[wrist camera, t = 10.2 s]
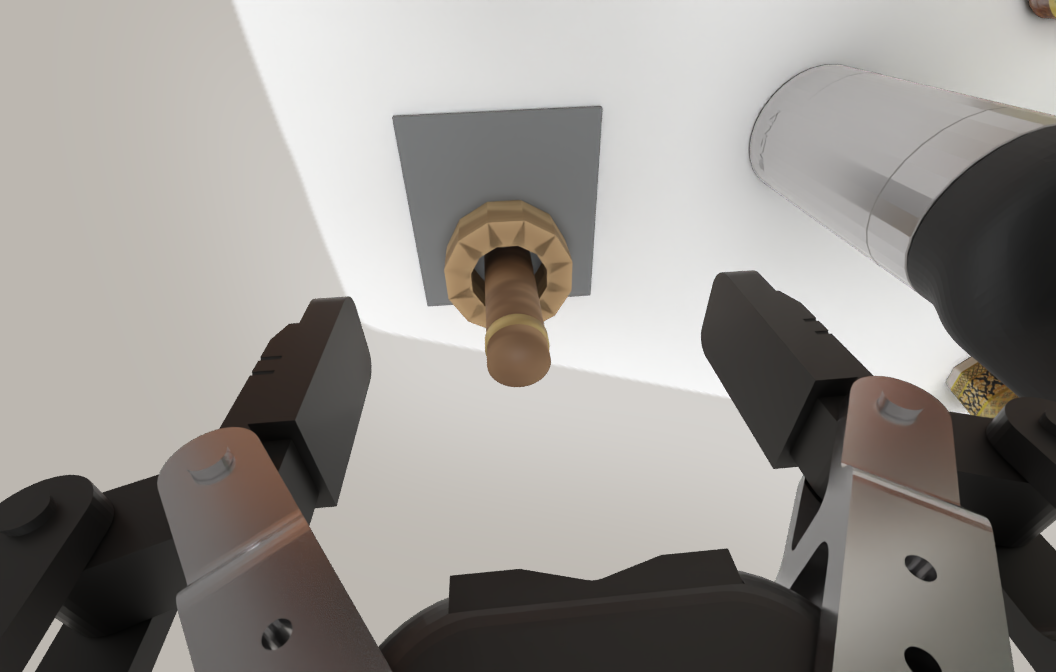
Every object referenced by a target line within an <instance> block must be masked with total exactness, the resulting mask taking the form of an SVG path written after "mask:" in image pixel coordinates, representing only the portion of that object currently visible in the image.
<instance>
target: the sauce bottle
mask: <svg viewBox="0 0 1056 672" xmlns="http://www.w3.org/2000/svg"><path fill="white" fill-rule="evenodd" d="M1029 6H1030V7H1031V8H1032V10H1033V12H1034V13H1035V14H1036V15H1037V16H1039V17H1041V18H1052V19H1056V0H1029Z"/></svg>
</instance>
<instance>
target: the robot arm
mask: <svg viewBox="0 0 1056 672" xmlns="http://www.w3.org/2000/svg"><path fill="white" fill-rule="evenodd" d="M750 160H751V164H752V167H753V170H754V172H755V173H756V175H757V176H758V178H759V179H760V180H761V181H763V182H764V183H765V184H766V185H767V186H769V187H770V188H772V189H773V190H774V191H776V192H777V193H779V194H780V195H781V196H783V197H784V198H786V199H787V200H788V201H789V202H791V203H792V204H794V205H795V206H796V207H798V208H799V209H801V210H802V211H803V212H805V213H806V214H808V215H809V216H810V217H812V218H813V219H815V220H816V221H817V222H819V223H820V224H822V225H823V226H824V227H826V228H827V229H829V230H830V231H831V232H833V233H834V234H836V235H837V236H838V237H840V238H841V239H843V240H844V241H845V242H847V243H848V244H850V245H851V246H852V247H854V248H855V249H857V250H858V251H859V252H861V253H862V254H864V255H865V256H866V257H868V258H869V259H871V260H872V261H873V262H875V263H876V264H878V265H879V266H881V267H882V268H884V269H885V270H886V271H888V272H889V273H891V274H892V275H893V276H895V277H896V278H898V279H899V280H900V281H902V282H903V283H905V284H906V285H907V286H909V287H910V288H912V289H913V290H914V291H916V292H917V293H919V294H920V295H921V296H922V297H924V298H925V299H927V300H928V301H929V302H931V303H932V304H933V305H934V307H935V309H936V311H937V313H938V315H939V318H940V320H941V322H942V324H943V326H944V328H945V329H946V331H947V332H948V334H949V335H950V336H951V337H952V339H953V340H954V341H955V342H956V343H957V344H958V345H959V346H960V347H961V348H962V349H964V350H965V351H966V352H967V353H968V354H969V355H970V356H972V357H973V358H974V359H975V360H976V361H978V362H979V363H980V364H981V365H982V366H983V367H985V368H986V369H987V370H988V371H989V372H990V373H992V374H993V375H994V376H995V377H996V378H997V379H999V380H1000V381H1001V382H1002V383H1003V384H1004V385H1006V386H1007V387H1008V388H1009V389H1010V390H1011V391H1012V392H1014V393H1015V394H1016V395H1017V396H1018V397H1019V398H1015V399H1012V400H1010V401H1008V402H1007V404H1006V405H1005V406H1004V407H1003V408H1002V409H1001V411H1000V412H999V413H998V414H997V415H996V416H995V418H988V417H981V416H975V415H968V414H961V413H955V412H948V410H947V409H946V408H945V406H944V405H943V404H942V403H941V402H940V401H939V400H938V399H936V398H935V397H934V396H932V395H931V394H930V393H928V392H926V391H925V390H923V389H921V388H919V387H917V386H915V385H913V384H911V383H908V382H905V381H902V380H899V379H895V378H891V377H885V376H873V375H872V374H871V373H870V372H869V371H868V370H867V369H866V368H865V367H864V366H863V365H862V364H861V363H860V362H859V361H858V360H857V359H856V358H855V357H854V356H853V355H852V354H851V353H850V352H849V351H848V350H847V349H846V348H845V347H844V346H843V345H842V344H841V343H840V342H839V341H838V340H837V339H836V338H835V337H834V336H833V335H832V334H828V330H827V329H826V328H825V327H824V326H823V325H822V324H821V323H820V322H819V321H816V318H815V316H814V315H813V314H812V313H811V312H810V311H809V310H808V309H807V308H806V307H805V306H804V305H803V304H802V303H800V302H798V301H797V300H795V299H793V298H791V297H789V296H788V295H786V294H784V293H782V292H780V291H775V289H774V288H773V287H772V286H771V285H770V284H769V283H768V282H767V281H766V280H765V279H764V278H763V277H762V276H761V275H760V274H759V273H758V272H757V271H753V270H752V271H737V272H722V273H719V274H718V275H717V276H716V277H715V279H714V282H713V286H712V290H711V294H710V298H709V302H708V306H707V310H706V314H705V318H704V322H703V326H702V330H701V343H702V348H703V351H704V354H705V356H706V358H707V359H708V361H709V363H710V364H711V366H712V368H713V369H714V371H715V373H716V374H717V376H718V378H719V379H720V381H721V383H722V384H723V386H724V388H725V389H726V391H727V393H728V394H729V396H730V398H731V399H732V401H733V402H734V404H735V406H736V408H737V409H738V410H739V412H740V414H741V416H742V417H743V419H744V421H745V422H746V424H747V426H748V427H749V429H750V430H751V432H752V434H753V436H754V437H755V439H756V441H757V442H758V444H759V446H760V447H761V449H762V451H763V452H764V454H765V456H766V457H767V459H768V460H769V462H770V464H771V466H772V467H773V469H778V468H789V467H799V469H800V470H801V472H802V473H803V476H802V478H801V480H800V482H799V485H798V488H797V492H796V498H795V502H794V507H793V512H792V516H791V521H790V526H789V531H788V536H787V540H786V545H785V551H784V555H783V559H782V563H781V566H780V570H779V572H778V575H777V577H776V580H775V582H773V581H771V580H768V579H765V578H763V577H760V576H756V575H753V574H749V573H746V572H742V571H738V570H737V568H736V566H735V564H734V561H733V559H732V557H731V555H730V552H729V550H728V549H718V550H708V551H698V552H688V553H678V554H667V555H661V556H658V557H655V558H653V559H650V560H648V561H645V562H643V563H640V564H638V565H635V566H633V567H630V568H628V569H625V570H622V571H620V572H618V573H615V574H613V575H610V576H608V577H605V578H603V579H599V580H593V581H591V580H583V579H577V578H571V577H565V576H559V575H553V574H547V573H540V572H535V571H529V570H523V569H514V570H504V571H494V572H484V573H474V574H464V575H453V576H450V587H449V598H447V599H444V600H441V601H439V602H437V603H435V604H433V605H431V606H429V607H427V608H425V609H424V610H422V611H420V612H419V613H417V614H416V615H414V616H413V617H411V618H410V619H409V620H407V621H406V622H404V623H403V624H402V625H401V626H400V627H398V628H397V629H396V630H395V631H394V632H393V633H392V634H390V635H389V636H388V637H387V639H385V641H384V642H383V643H382V644H381V645H380V646H379V647H378V646H377V644H376V642H375V640H374V639H373V637H372V635H371V633H370V632H369V630H368V628H367V626H366V625H365V623H364V621H363V619H362V618H361V616H360V614H359V612H358V611H357V609H356V607H355V605H354V604H353V602H352V600H351V599H350V597H349V595H348V593H347V592H346V590H345V588H344V586H343V584H342V583H341V581H340V580H339V578H338V576H337V574H336V572H335V570H334V569H333V567H332V565H331V564H330V562H329V560H328V558H327V556H326V555H325V553H324V551H323V549H322V548H321V546H320V544H319V543H318V541H317V539H316V537H315V536H314V534H313V532H312V530H311V528H310V527H309V525H310V522H311V519H312V516H313V512H314V509H315V508H321V507H322V508H323V507H334V506H337V503H338V499H339V495H340V491H341V487H342V484H343V480H344V477H345V473H346V468H347V465H348V462H349V457H350V454H351V450H352V447H353V443H354V439H355V435H356V432H357V428H358V424H359V421H360V417H361V413H362V409H363V406H364V401H365V398H366V394H367V390H368V387H369V383H370V379H371V358H370V353H369V349H368V346H367V342H366V339H365V336H364V332H363V329H362V326H361V322H360V319H359V316H358V312H357V309H356V306H355V303H354V301H353V300H352V298H351V297H335V298H319V299H313V300H312V301H311V302H310V304H309V305H308V307H307V309H306V311H305V313H304V315H303V317H302V319H301V321H300V323H293V324H288V325H287V326H286V327H285V328H284V329H283V330H281V331H280V332H279V333H278V334H277V335H275V337H273V338H272V339H271V340H270V341H269V343H268V345H267V347H266V348H265V350H264V352H263V354H262V355H261V361H258V362H257V364H256V366H255V368H254V369H253V371H252V376H249V378H248V380H247V382H246V383H245V385H244V387H243V388H242V390H241V392H240V394H239V396H238V397H237V399H236V401H235V402H234V404H233V406H232V408H231V409H230V411H229V413H228V415H227V416H226V418H225V420H224V422H223V423H222V425H221V427H220V429H217V430H214V431H211V432H208V433H205V434H203V435H201V436H199V437H197V438H195V439H193V440H191V441H190V442H188V443H187V444H185V445H183V446H182V447H181V448H180V449H178V450H177V451H176V452H175V453H174V454H173V455H172V456H171V457H170V458H169V459H168V460H167V462H166V463H165V464H164V466H163V468H162V469H161V471H160V474H159V475H156V476H153V477H150V478H147V479H143V480H140V481H137V482H134V483H131V484H128V485H125V486H121V487H118V488H115V489H112V490H109V491H106V492H103V493H102V492H100V491H99V489H98V488H97V487H96V486H95V485H94V484H93V483H92V482H91V481H89V480H88V479H87V478H85V477H82V476H79V475H65V476H59V477H53V478H50V479H46V480H43V481H40V482H38V483H35V484H33V485H31V486H29V487H26V488H24V489H22V490H21V491H19V492H17V493H15V494H13V495H12V496H10V497H9V498H7V499H5V500H4V501H3V502H1V503H0V672H22V671H23V670H24V668H25V666H26V665H27V663H28V661H29V660H30V658H31V656H32V655H33V653H34V651H35V650H36V648H37V646H38V645H39V643H40V641H41V640H42V638H43V637H44V635H45V633H46V631H47V630H48V628H49V627H50V625H51V623H52V622H53V620H54V618H56V619H58V620H59V621H61V622H62V623H63V625H62V627H61V629H60V630H59V632H58V634H57V635H56V637H55V639H54V640H53V642H52V644H51V645H50V647H49V649H48V651H47V652H46V654H45V656H44V657H43V659H42V661H41V663H40V664H39V666H38V668H37V669H36V671H35V672H152V669H153V667H154V665H155V662H156V660H157V657H158V655H159V653H160V650H161V648H162V646H163V643H164V641H165V638H166V636H167V634H168V631H169V629H170V627H171V624H172V622H173V619H174V617H175V615H176V612H177V610H178V614H179V617H180V621H181V624H182V628H183V631H184V635H185V638H186V642H187V646H188V649H189V653H190V656H191V660H192V664H193V667H194V671H195V672H1014V667H1013V660H1012V653H1011V646H1010V641H1009V637H1010V638H1011V639H1012V641H1013V642H1014V643H1015V645H1016V646H1017V647H1018V649H1019V650H1020V651H1021V653H1022V654H1023V655H1024V657H1025V658H1026V659H1027V661H1028V662H1029V663H1030V665H1031V666H1032V667H1033V669H1034V670H1035V671H1036V672H1056V550H1055V549H1054V548H1053V547H1052V546H1051V545H1050V544H1049V543H1048V542H1047V541H1046V540H1045V538H1043V536H1042V535H1041V534H1040V533H1041V532H1042V531H1043V530H1044V529H1046V528H1047V527H1048V526H1049V525H1050V524H1052V523H1053V522H1054V521H1055V520H1056V116H1055V115H1051V114H1046V113H1042V112H1038V111H1034V110H1030V109H1025V108H1019V107H1015V106H1011V105H1007V104H1003V103H999V102H994V101H990V100H986V99H982V98H978V97H973V96H969V95H965V94H961V93H957V92H952V91H948V90H944V89H940V88H936V87H932V86H927V85H923V84H919V83H915V82H911V81H906V80H902V79H898V78H894V77H890V76H885V75H882V74H878V73H874V72H870V71H865V70H861V69H856V68H852V67H848V66H843V65H839V64H830V65H822V66H818V67H814V68H811V69H809V70H807V71H805V72H803V73H800V74H798V75H797V76H795V77H794V78H793V79H791V80H790V81H788V82H787V83H786V84H784V85H783V86H782V87H781V88H780V89H779V90H778V91H777V92H776V93H775V94H774V95H773V96H772V98H771V99H770V100H769V101H768V103H767V104H766V105H765V107H764V108H763V110H762V112H761V114H760V115H759V117H758V119H757V121H756V124H755V126H754V129H753V132H752V135H751V142H750Z"/></svg>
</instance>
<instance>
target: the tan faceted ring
mask: <svg viewBox="0 0 1056 672" xmlns="http://www.w3.org/2000/svg"><path fill="white" fill-rule="evenodd" d="M507 246H520V247H522V248H524V249H526V250H529V251H531V252H533V253H535V254H537V255H538V257H539V258H540V260H541V261H542V264H541V265H540V267H539V268H538V270H537V272H536V273H535V275H534V276H535V281H536V286H537V291H538V296H539V301H540V307H541V312H542V317H543V321H545V320H547V319H549V318H551V317H553V316H555V314H556V313H557V311H558V310H559V308H560V307H561V306H562V304H563V303H564V301H565V300H566V298H567V297H568V295H569V294H570V292H571V289H572V259H571V256H570V253H569V250H568V247H567V244H566V241H565V238H564V237H563V235H562V234H561V232H560V230H559V229H558V227H557V226H556V224H555V222H554V221H553V219H552V218H551V216H550V214H548V213H546V212H544V211H542V210H540V209H538V208H536V207H534V206H532V205H530V204H528V203H526V202H524V201H522V200H511V201H494V202H486V203H484V204H483V205H481V206H480V207H478V208H477V209H475V210H474V211H472V212H471V213H469V214H467V215H466V216H464V217H463V218H461V219H460V220H459V222H458V224H457V226H456V228H455V230H454V233H453V235H452V237H451V239H450V241H449V243H448V245H447V249H446V258H445V267H444V272H445V279H446V286H447V292H448V299H449V300H450V301H451V302H452V304H453V305H454V306H455V307H456V308H457V309H458V310H459V312H460V313H461V314H462V315H463V316H464V317H465V318H466V319H467V321H469V322H471V323H474V324H477V325H479V326H482V327H485V328H486V306H485V281H484V280H483V279H482V278H481V277H480V275H479V274H478V273H477V272H476V270H475V269H474V267H475V265H476V264H477V262H478V260H479V258H480V257H482V256H483V255H485V254H487V253H488V252H490V251H491V250H493V249H495V248H496V247H507Z"/></svg>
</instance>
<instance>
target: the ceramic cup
mask: <svg viewBox="0 0 1056 672" xmlns="http://www.w3.org/2000/svg"><path fill="white" fill-rule="evenodd" d="M946 383H947V386H948V387H949V388H950V390H951V391H952V392H953V393H954V395H955V396H956V397H957V398H958V399H959V401H960V402H961V403H962V405H963V406H964V407H965V408H966V410H967V411H968V412H969V413H970V415H975V416H981V417H988V418H995V416H996V415H997V414H998V413H999V412H1000V411H1001V409H1002V408H1003V407H1004V406H1005V405H1006V404H1007V402H1008V401H1010V400H1012V399H1015V398H1019V397H1018V396H1017V395H1016V394H1015V393H1014V392H1012V391H1011V390H1010V389H1009V388H1008V387H1007V386H1006V385H1004V384H1003V383H1002V382H1001V381H1000V380H999V379H997V378H996V377H995V376H994V375H993V374H992V373H990V372H989V371H988V370H987V369H986V368H985V367H983V366H982V365H981V364H980V363H979V362H978V361H976V360H975V359H974V358H973V357H970V358H968V359H967V360H965V361H964V362H962V363H960V364H959V365H957V366H956V367H954V369H953V370H952V372H951V374H950V375H949V377H948V379H947V381H946Z"/></svg>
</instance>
